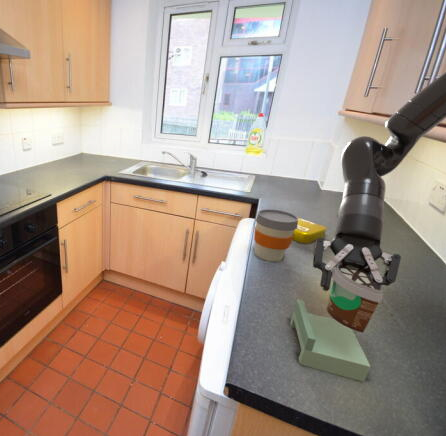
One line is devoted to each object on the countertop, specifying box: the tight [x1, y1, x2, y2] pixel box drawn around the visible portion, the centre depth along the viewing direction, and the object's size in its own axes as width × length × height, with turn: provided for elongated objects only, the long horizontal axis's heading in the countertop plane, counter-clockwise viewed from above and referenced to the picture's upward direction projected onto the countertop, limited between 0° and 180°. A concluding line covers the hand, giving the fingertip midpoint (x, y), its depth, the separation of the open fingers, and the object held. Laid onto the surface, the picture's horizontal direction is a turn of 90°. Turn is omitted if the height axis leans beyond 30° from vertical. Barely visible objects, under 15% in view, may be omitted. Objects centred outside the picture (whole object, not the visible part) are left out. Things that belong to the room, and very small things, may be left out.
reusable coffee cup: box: [253, 208, 299, 263], centre depth 101 cm, size 13×13×15 cm
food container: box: [326, 262, 385, 333], centre depth 59 cm, size 12×6×10 cm, turn 157°
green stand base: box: [289, 299, 372, 383], centre depth 63 cm, size 11×13×7 cm
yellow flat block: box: [292, 217, 327, 245], centre depth 121 cm, size 15×15×5 cm
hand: (347, 295), depth 57 cm, fingers closed on food container, 6 cm apart
